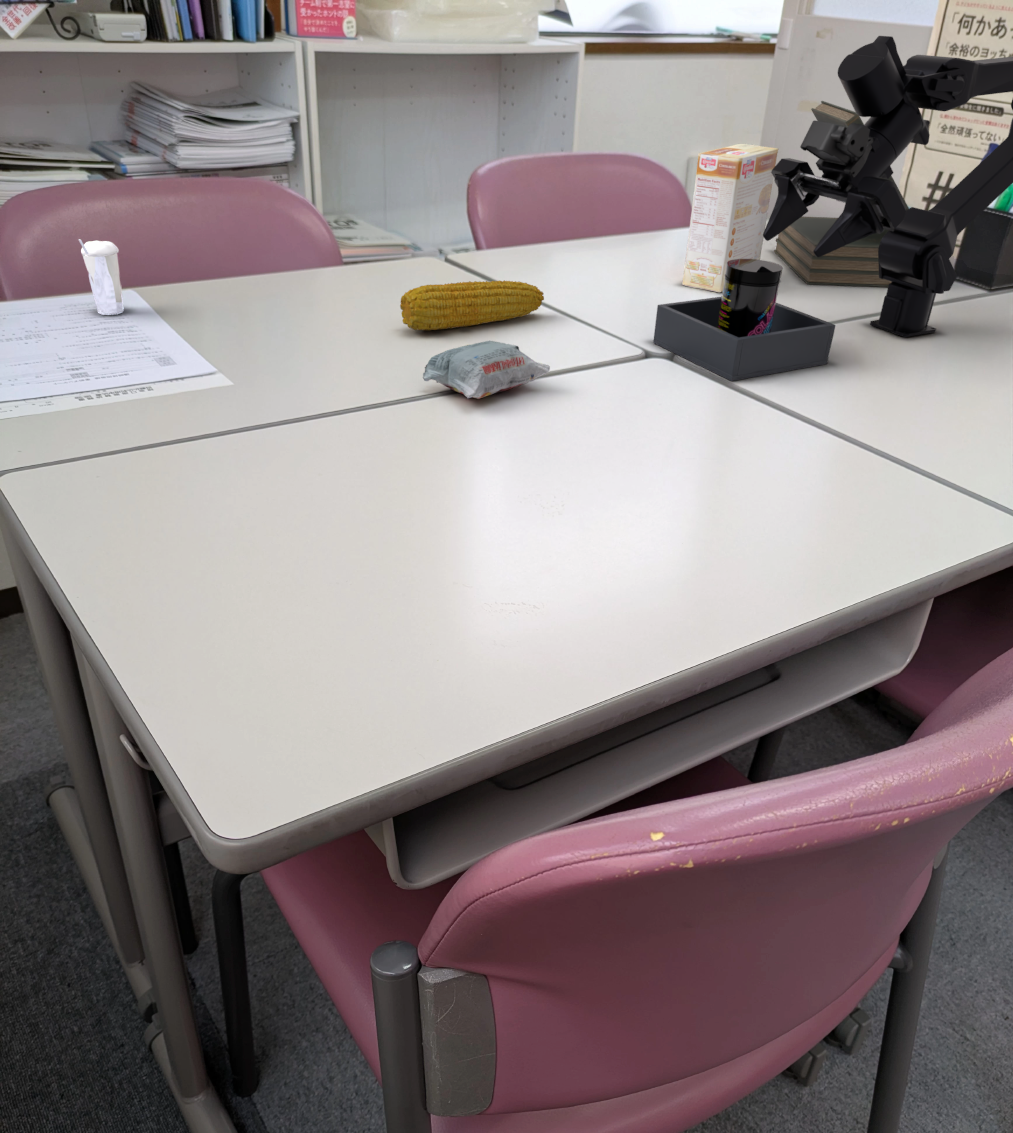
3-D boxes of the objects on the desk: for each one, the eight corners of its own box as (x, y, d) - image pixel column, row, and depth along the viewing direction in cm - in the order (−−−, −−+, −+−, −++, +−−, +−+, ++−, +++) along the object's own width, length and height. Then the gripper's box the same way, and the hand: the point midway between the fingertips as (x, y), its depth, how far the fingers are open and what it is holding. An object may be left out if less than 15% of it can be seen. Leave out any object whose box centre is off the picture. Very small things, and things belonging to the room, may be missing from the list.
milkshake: (80, 315, 125) (65, 237, 120) (109, 305, 129) (95, 229, 124) (108, 320, 123) (93, 241, 118) (136, 309, 128) (123, 233, 123)
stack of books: (927, 288, 152) (971, 118, 139) (806, 283, 152) (839, 113, 139) (880, 255, 172) (916, 103, 159) (773, 251, 172) (800, 98, 159)
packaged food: (548, 389, 107) (550, 347, 105) (468, 414, 100) (468, 369, 98) (498, 369, 113) (498, 329, 110) (418, 391, 106) (417, 348, 103)
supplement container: (738, 359, 117) (752, 274, 111) (702, 343, 122) (715, 261, 116) (778, 352, 120) (794, 269, 114) (742, 337, 125) (756, 256, 119)
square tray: (744, 328, 130) (750, 292, 127) (827, 364, 118) (835, 324, 116) (652, 342, 123) (657, 304, 121) (731, 381, 112) (738, 340, 109)
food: (415, 340, 121) (415, 293, 118) (395, 328, 125) (394, 283, 122) (550, 318, 131) (552, 275, 128) (527, 308, 135) (529, 265, 132)
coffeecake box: (719, 267, 160) (738, 142, 149) (759, 275, 156) (781, 147, 146) (679, 285, 149) (696, 151, 139) (721, 293, 146) (741, 156, 135)
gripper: (796, 87, 117) (712, 186, 118) (913, 103, 103) (816, 215, 104) (831, 153, 124) (751, 246, 125) (945, 176, 110) (853, 281, 111)
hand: (789, 246), depth 116 cm, fingers open, 9 cm apart
